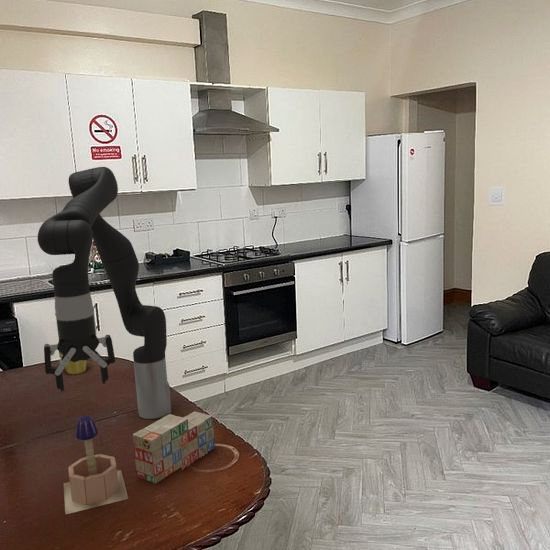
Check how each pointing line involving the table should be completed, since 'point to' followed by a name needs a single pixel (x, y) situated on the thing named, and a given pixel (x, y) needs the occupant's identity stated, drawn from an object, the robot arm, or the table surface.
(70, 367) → the plant pot
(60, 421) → the table surface
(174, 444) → the stack of blocks
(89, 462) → the toy lamp
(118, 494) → the birch board
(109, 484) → the beige octagonal hollow piece
